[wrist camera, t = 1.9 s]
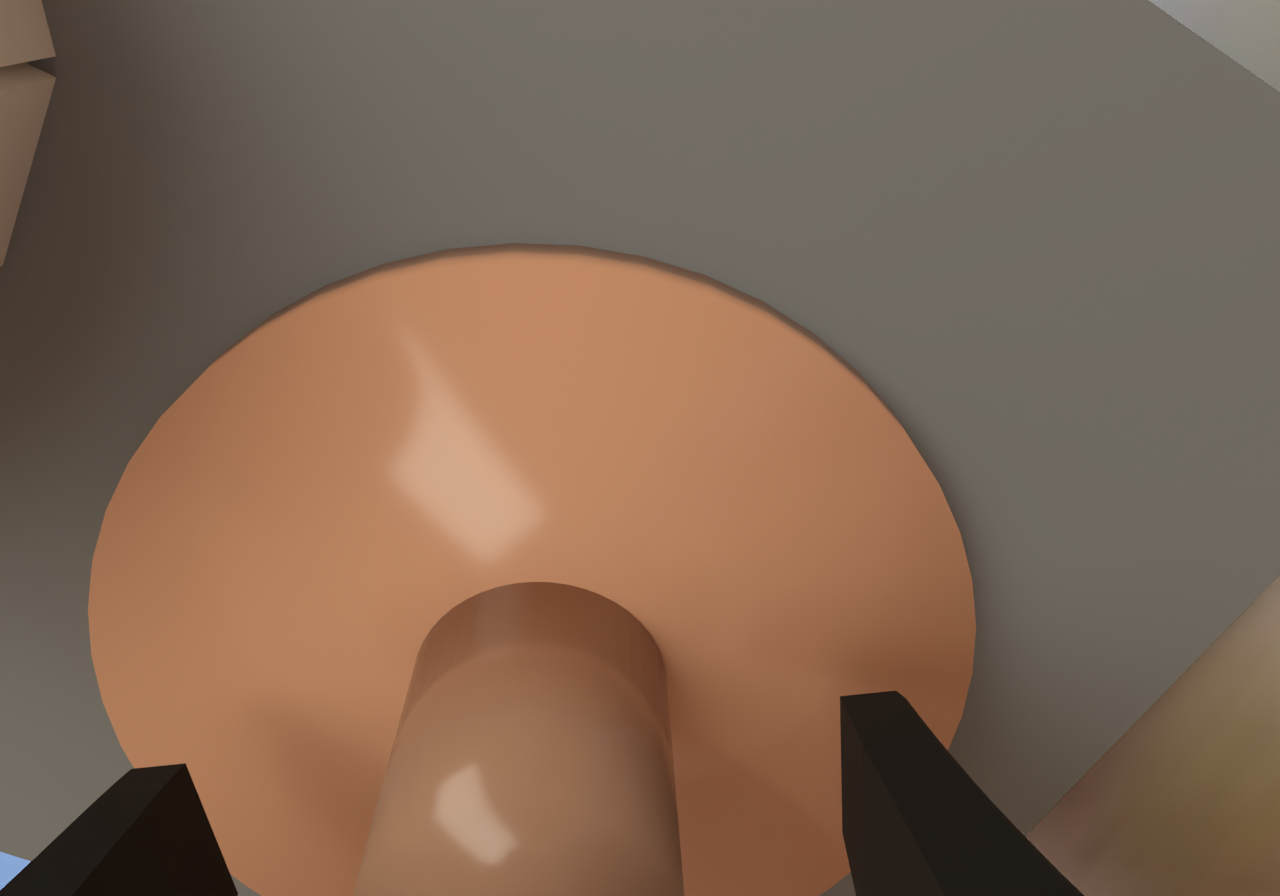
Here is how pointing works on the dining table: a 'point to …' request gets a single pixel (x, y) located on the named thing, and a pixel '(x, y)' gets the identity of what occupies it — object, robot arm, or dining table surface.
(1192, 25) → the dining table surface
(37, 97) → the bowl
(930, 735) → the robot arm
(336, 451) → the lid
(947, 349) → the mat
